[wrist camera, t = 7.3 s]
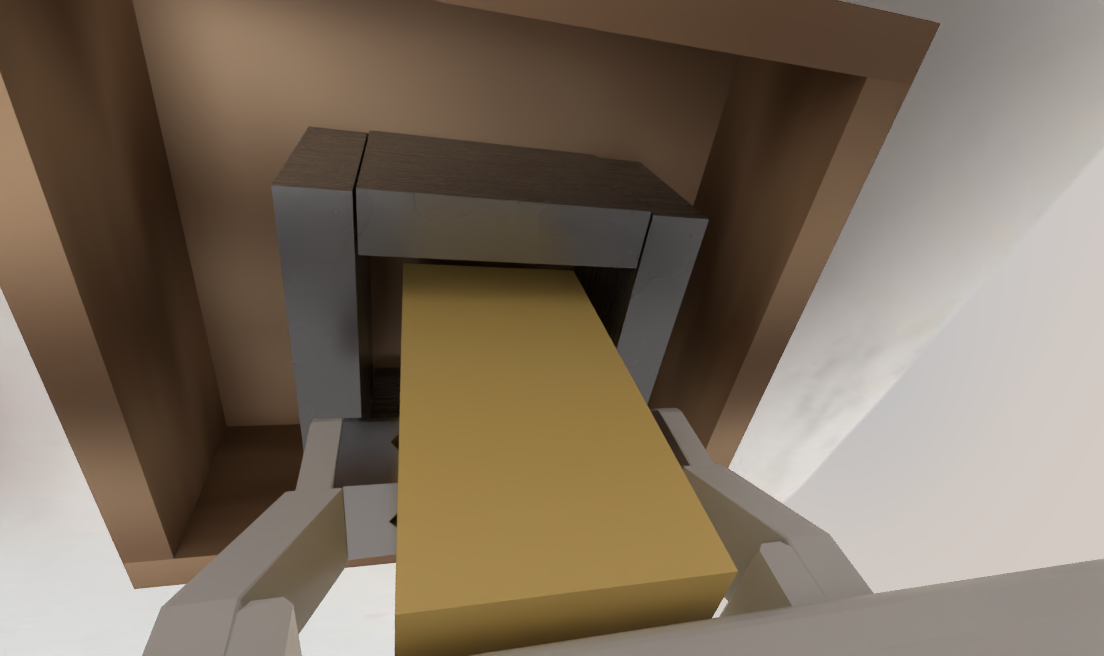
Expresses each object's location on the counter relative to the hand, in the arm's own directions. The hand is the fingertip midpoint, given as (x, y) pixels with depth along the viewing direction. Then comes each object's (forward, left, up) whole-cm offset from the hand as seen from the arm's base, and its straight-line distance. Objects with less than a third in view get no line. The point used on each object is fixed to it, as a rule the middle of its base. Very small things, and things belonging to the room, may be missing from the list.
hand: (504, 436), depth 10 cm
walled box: (-1, 0, -6) cm, 7 cm away
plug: (0, 0, -4) cm, 4 cm away
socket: (0, 0, -6) cm, 6 cm away
